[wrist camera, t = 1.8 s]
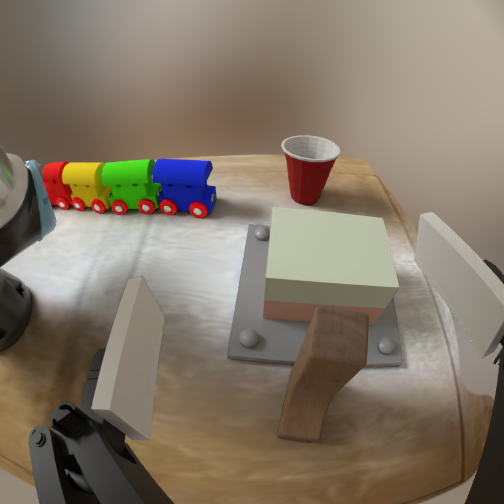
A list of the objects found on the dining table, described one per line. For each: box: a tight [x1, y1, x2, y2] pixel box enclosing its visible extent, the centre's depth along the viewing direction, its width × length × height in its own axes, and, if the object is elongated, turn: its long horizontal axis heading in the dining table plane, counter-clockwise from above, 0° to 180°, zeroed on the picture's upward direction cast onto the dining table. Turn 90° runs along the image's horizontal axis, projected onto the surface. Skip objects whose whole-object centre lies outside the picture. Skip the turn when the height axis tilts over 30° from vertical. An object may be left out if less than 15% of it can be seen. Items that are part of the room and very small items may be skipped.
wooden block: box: [277, 307, 369, 443], centre depth 26 cm, size 9×4×18 cm, turn 167°
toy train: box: [37, 159, 217, 218], centre depth 54 cm, size 45×7×11 cm, turn 84°
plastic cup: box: [282, 136, 340, 205], centre depth 55 cm, size 11×11×12 cm
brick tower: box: [228, 207, 402, 367], centre depth 40 cm, size 24×24×11 cm
